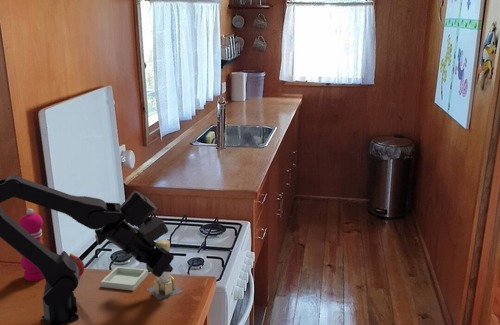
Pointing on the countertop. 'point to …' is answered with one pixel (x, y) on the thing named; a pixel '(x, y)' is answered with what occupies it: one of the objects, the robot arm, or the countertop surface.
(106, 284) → the tray
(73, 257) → the onion
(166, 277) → the white and tan post
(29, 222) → the pepper mill
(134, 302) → the countertop surface
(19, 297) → the countertop surface
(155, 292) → the grey stand with brackets
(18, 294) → the countertop surface
